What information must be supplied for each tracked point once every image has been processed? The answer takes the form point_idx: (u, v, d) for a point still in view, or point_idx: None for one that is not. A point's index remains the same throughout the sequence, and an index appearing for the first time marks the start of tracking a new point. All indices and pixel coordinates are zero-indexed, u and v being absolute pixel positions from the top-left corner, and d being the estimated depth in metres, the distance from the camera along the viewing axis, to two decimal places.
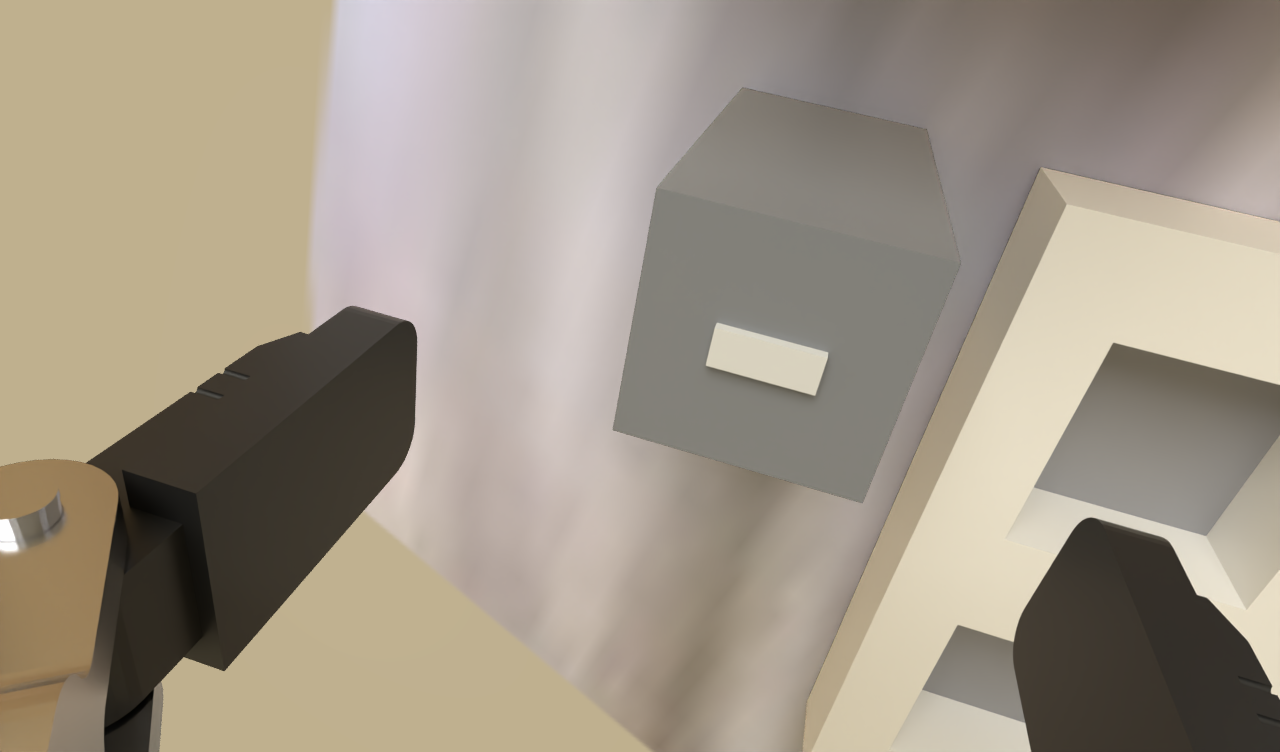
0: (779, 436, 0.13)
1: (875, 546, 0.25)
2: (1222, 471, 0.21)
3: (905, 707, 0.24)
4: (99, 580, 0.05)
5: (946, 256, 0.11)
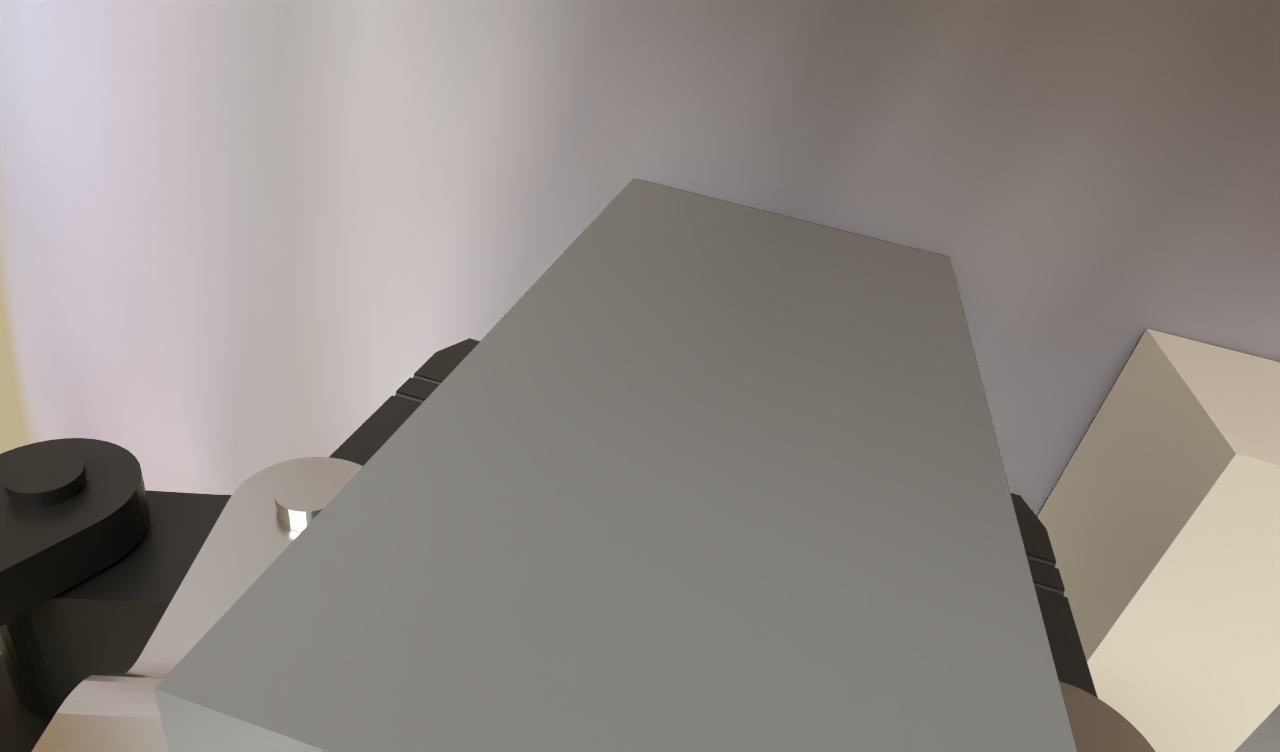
0: None
1: None
2: None
3: None
4: None
5: None
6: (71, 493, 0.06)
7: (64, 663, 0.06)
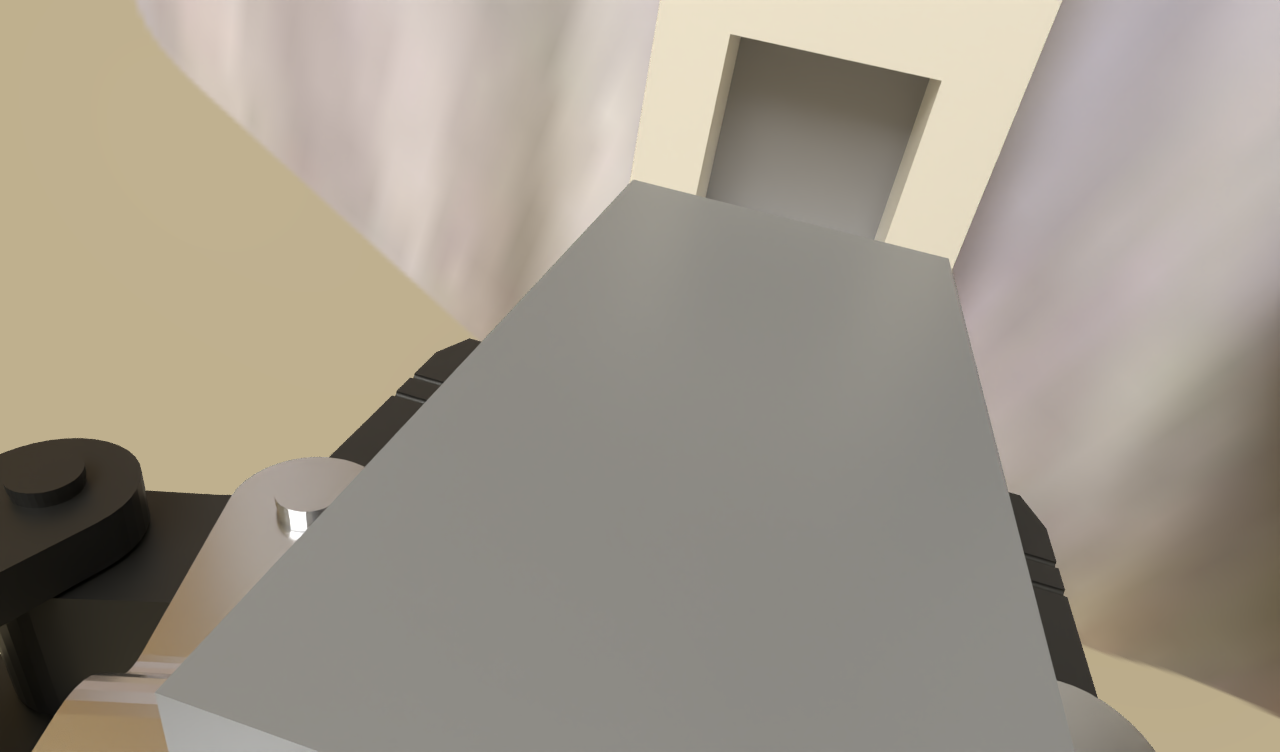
0: None
1: None
2: None
3: (696, 165, 0.24)
4: None
5: None
6: (71, 493, 0.06)
7: (64, 663, 0.06)
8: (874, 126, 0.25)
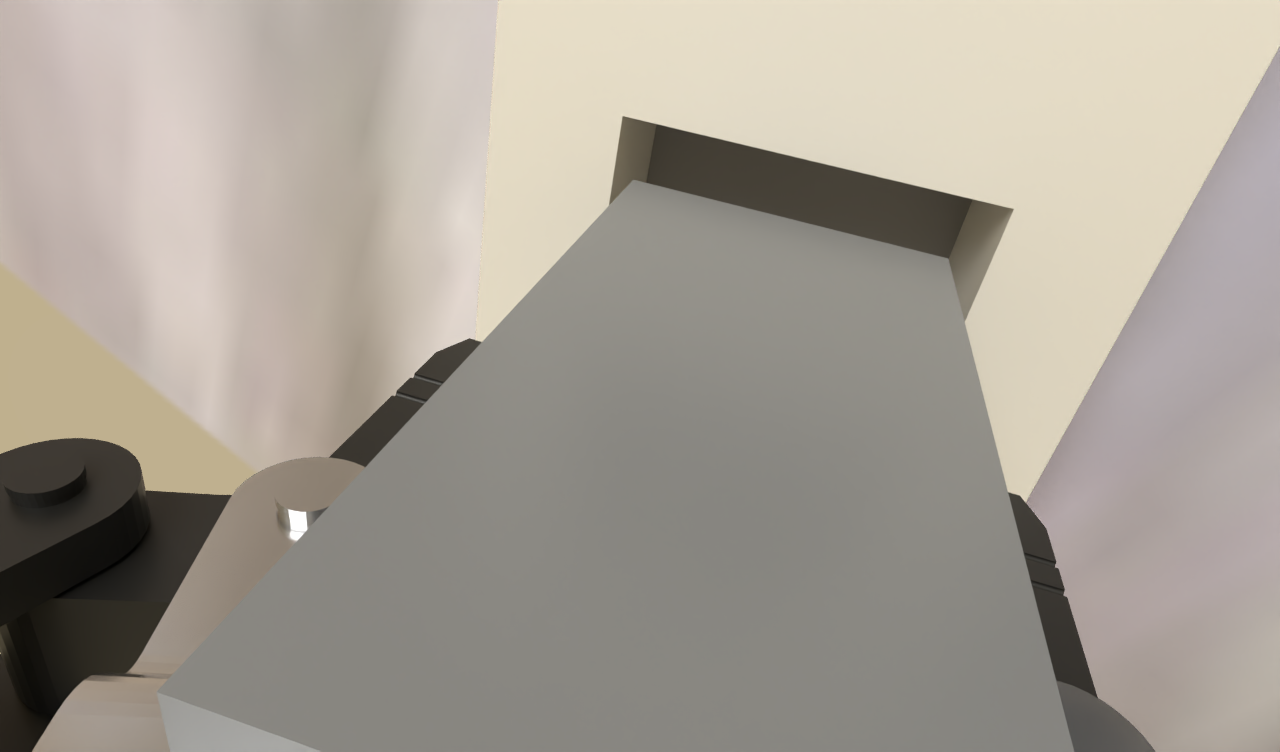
0: None
1: None
2: None
3: None
4: None
5: None
6: (71, 493, 0.06)
7: (64, 663, 0.06)
8: None
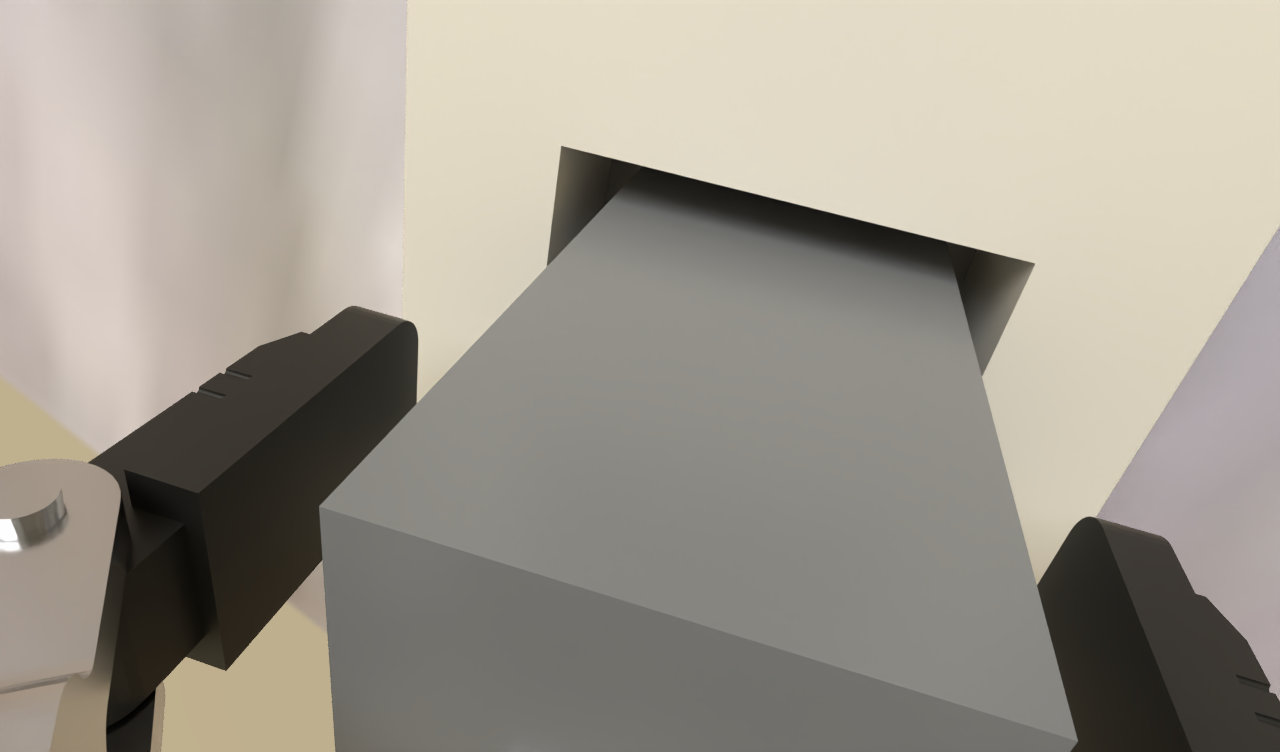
0: None
1: None
2: None
3: None
4: (102, 580, 0.05)
5: (1035, 710, 0.04)
6: None
7: None
8: None
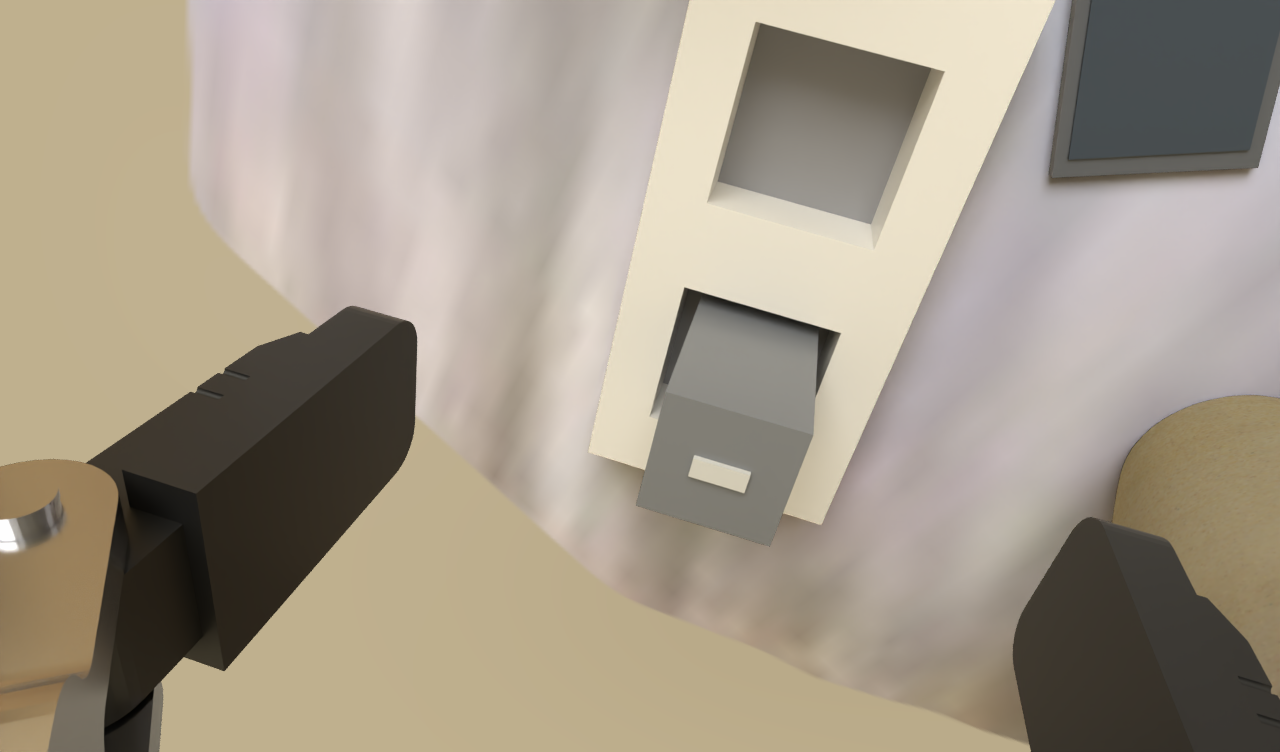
0: (726, 511, 0.25)
1: None
2: (874, 165, 0.28)
3: (656, 372, 0.30)
4: (99, 581, 0.05)
5: (806, 430, 0.23)
6: None
7: None
8: None
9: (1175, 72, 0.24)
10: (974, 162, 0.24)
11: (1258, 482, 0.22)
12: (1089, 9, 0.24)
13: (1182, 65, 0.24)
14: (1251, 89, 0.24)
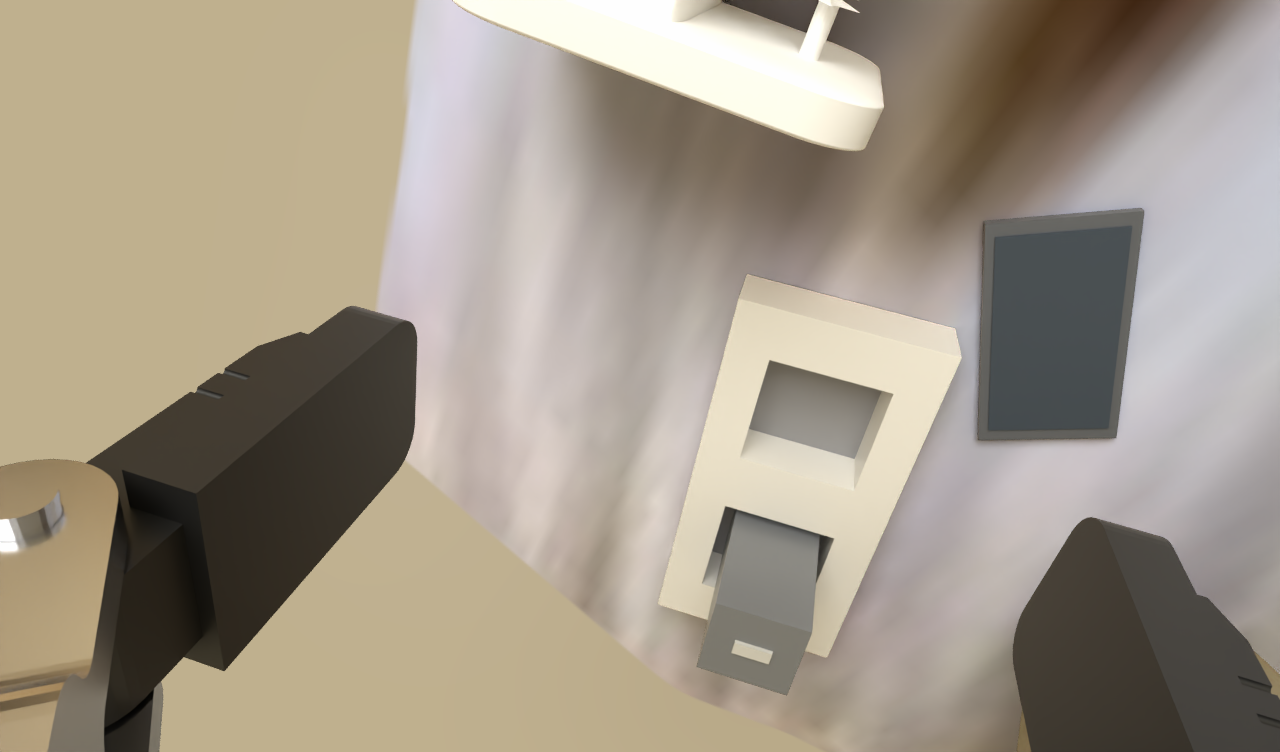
0: (757, 673, 0.38)
1: None
2: (855, 423, 0.40)
3: (706, 556, 0.43)
4: (99, 580, 0.05)
5: (808, 629, 0.36)
6: None
7: None
8: None
9: (1052, 383, 0.37)
10: (917, 444, 0.37)
11: None
12: (990, 346, 0.36)
13: (1056, 379, 0.36)
14: (1104, 393, 0.36)
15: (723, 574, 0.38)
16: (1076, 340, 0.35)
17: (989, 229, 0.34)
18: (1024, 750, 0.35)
